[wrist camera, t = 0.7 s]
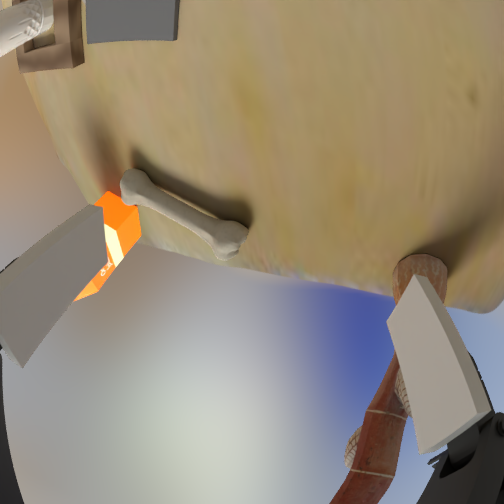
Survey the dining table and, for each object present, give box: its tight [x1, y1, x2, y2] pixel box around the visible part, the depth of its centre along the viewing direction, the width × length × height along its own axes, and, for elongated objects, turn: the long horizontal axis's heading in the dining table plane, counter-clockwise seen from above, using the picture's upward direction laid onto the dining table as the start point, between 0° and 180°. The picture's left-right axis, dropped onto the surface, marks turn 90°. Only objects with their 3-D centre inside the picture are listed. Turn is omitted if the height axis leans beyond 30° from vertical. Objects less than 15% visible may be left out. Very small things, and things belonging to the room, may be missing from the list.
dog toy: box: [120, 168, 249, 260], centre depth 36 cm, size 20×6×5 cm, turn 74°
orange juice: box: [74, 191, 141, 301], centre depth 42 cm, size 8×9×20 cm
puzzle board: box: [12, 0, 84, 74], centre depth 16 cm, size 20×20×2 cm
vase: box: [330, 254, 447, 504], centre depth 21 cm, size 10×7×30 cm
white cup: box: [0, 0, 54, 57], centre depth 14 cm, size 8×8×10 cm
